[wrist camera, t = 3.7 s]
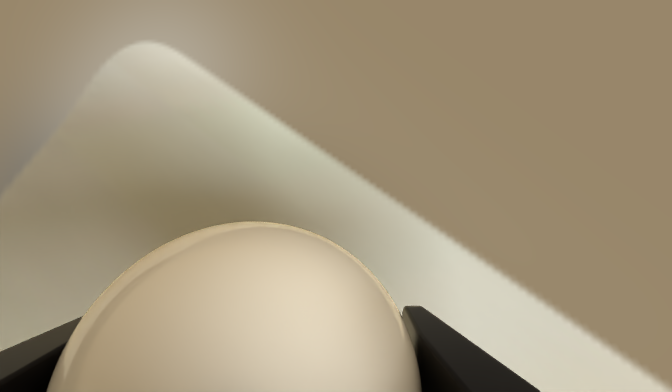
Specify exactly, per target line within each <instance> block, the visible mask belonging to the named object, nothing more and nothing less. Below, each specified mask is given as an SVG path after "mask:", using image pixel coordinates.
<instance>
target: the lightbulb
mask: <svg viewBox="0 0 672 392" xmlns="http://www.w3.org/2000/svg"><path fill="white" fill-rule="evenodd" d="M46 392H422V384H421V377H420V371H419V366H418V361H417V357H416V353H415V349H414V346H413V343H412V340H411V337H410V334H409V332H408V329H407V327H406V324H405V322H404V320H403V318H402V316H401V314H400V312H399V310H398V308H397V306H396V305H395V303H394V301H393V300H392V298H391V296H390V295H389V294H388V292H387V291H386V289H385V288H384V286H383V285H382V284H381V283H380V281H379V280H378V279H377V278H376V277H375V276H374V274H373V273H372V272H371V271H370V270H369V269H368V268H367V267H366V266H365V265H364V264H363V263H362V262H360V261H359V260H358V259H357V258H356V257H355V256H353V255H352V254H351V253H349V252H348V251H347V250H345V249H344V248H342V247H341V246H339V245H337V244H336V243H334V242H332V241H330V240H328V239H326V238H325V237H322V236H320V235H318V234H316V233H313V232H310V231H308V230H305V229H301V228H298V227H294V226H290V225H285V224H280V223H273V222H260V221H247V222H233V223H226V224H220V225H215V226H211V227H207V228H203V229H200V230H197V231H194V232H191V233H188V234H186V235H183V236H181V237H178V238H176V239H174V240H172V241H170V242H168V243H166V244H164V245H162V246H160V247H158V248H157V249H155V250H153V251H152V252H150V253H149V254H147V255H146V256H144V257H143V258H141V259H140V260H138V261H137V262H136V263H134V264H133V265H132V266H131V267H129V268H128V269H127V270H126V271H124V272H123V273H122V274H121V275H120V276H119V277H118V278H117V279H115V280H114V281H113V282H112V283H111V284H110V285H109V286H108V287H107V288H106V289H105V291H104V292H103V293H102V294H101V295H100V296H99V297H98V298H97V300H96V301H95V302H94V303H93V304H92V306H91V307H90V308H89V309H88V311H87V312H86V313H85V315H84V316H83V317H82V319H81V320H80V322H79V323H78V325H77V326H76V328H75V330H74V331H73V333H72V335H71V336H70V338H69V340H68V341H67V343H66V345H65V347H64V349H63V351H62V353H61V355H60V357H59V359H58V362H57V364H56V366H55V368H54V371H53V374H52V376H51V379H50V382H49V385H48V388H47V391H46Z"/></svg>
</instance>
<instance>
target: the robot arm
mask: <svg viewBox="0 0 672 392" xmlns="http://www.w3.org/2000/svg"><path fill="white" fill-rule="evenodd" d="M82 317H83V316H82ZM82 317H80V318H77V319H75V320H73V321H70V322H68V323H66V324H63V325H61V326H59V327H57V328H54V329H52V330H50V331H47V332H45V333H43V334H40V335H38V336H36V337H33V338H31V339H29V340H26V341H24V342H22V343H20V344H17V345H15V346H13V347H10V348H8V349H6V350H3V351H1V352H0V392H46V391H47V388H48V385H49V382H50V379H51V376H52V374H53V371H54V368H55V366H56V364H57V362H58V359H59V357H60V355H61V353H62V351H63V349H64V347H65V345H66V343H67V341H68V340H69V338H70V336H71V335H72V333H73V331H74V330H75V328H76V326H77V325H78V323H79V322H80V320H81V319H82ZM402 318H403V320H404V322H405V324H406V327H407V329H408V332H409V334H410V337H411V340H412V343H413V346H414V349H415V353H416V357H417V361H418V366H419V371H420V377H421V384H422V392H540V391H539V390H538V389H537V388H535V387H534V386H533V385H531V384H530V383H528V382H527V381H526V380H524V379H523V378H521V377H520V376H519V375H517V374H516V373H514V372H513V371H512V370H510V369H509V368H507V367H506V366H505V365H503V364H502V363H500V362H499V361H498V360H496V359H495V358H493V357H492V356H491V355H489V354H488V353H486V352H485V351H484V350H482V349H481V348H479V347H478V346H477V345H475V344H474V343H472V342H471V341H469V340H468V339H467V338H465V337H464V336H462V335H461V334H460V333H458V332H457V331H455V330H454V329H453V328H451V327H450V326H448V325H447V324H446V323H444V322H443V321H441V320H440V319H439V318H437V317H436V316H434V315H433V314H432V313H430V312H429V311H427V310H426V309H425V308H423V307H421V306H405V307H404V309H403V312H402Z"/></svg>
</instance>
